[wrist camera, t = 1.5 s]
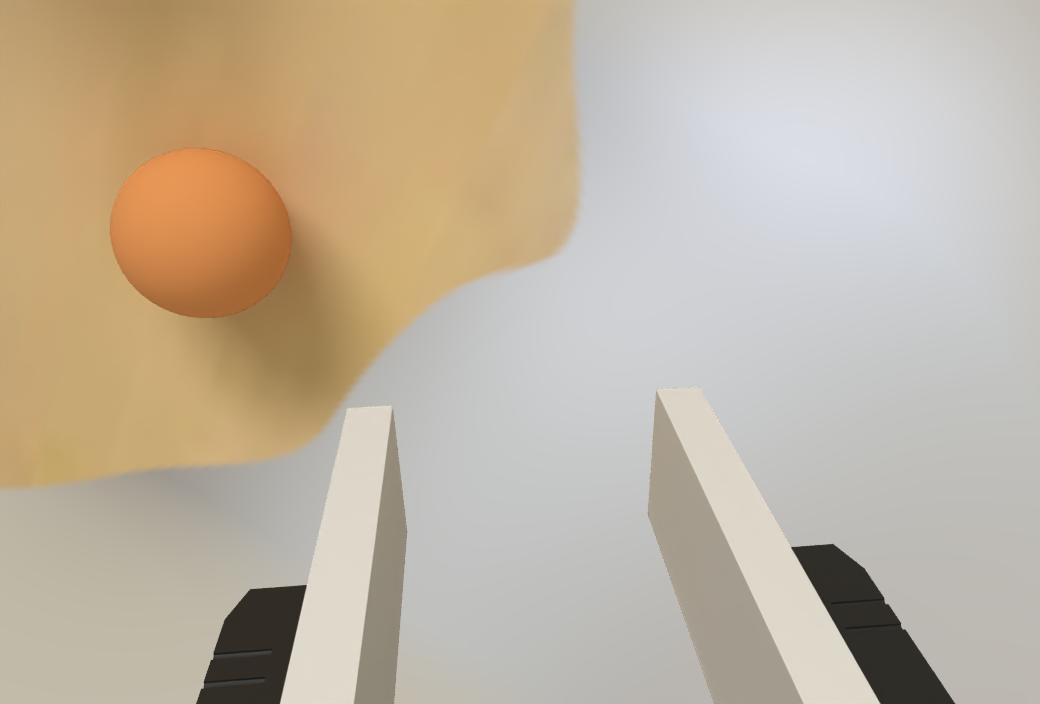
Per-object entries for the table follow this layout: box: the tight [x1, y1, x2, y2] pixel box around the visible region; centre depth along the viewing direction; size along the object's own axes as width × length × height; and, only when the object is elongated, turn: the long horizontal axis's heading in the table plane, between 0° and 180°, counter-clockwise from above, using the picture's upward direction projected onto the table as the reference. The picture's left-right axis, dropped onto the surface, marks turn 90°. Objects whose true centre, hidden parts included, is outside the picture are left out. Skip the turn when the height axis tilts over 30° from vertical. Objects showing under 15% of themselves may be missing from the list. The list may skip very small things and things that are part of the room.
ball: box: [110, 149, 291, 318], centre depth 25 cm, size 6×6×6 cm
